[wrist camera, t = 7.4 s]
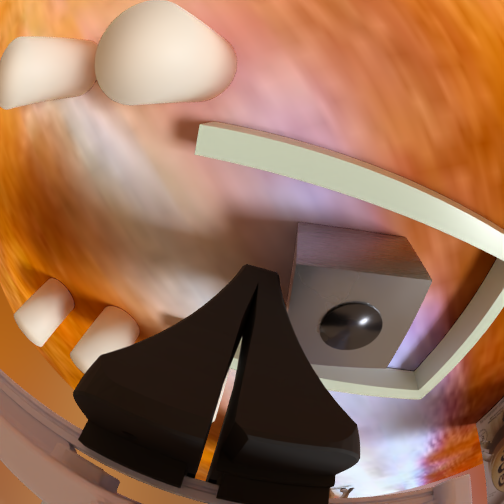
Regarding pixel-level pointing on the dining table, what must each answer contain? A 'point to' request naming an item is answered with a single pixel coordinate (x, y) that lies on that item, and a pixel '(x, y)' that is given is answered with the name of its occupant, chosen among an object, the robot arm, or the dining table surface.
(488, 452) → the coffee box
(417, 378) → the frame
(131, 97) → the posts
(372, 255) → the push button box
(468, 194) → the dining table surface
